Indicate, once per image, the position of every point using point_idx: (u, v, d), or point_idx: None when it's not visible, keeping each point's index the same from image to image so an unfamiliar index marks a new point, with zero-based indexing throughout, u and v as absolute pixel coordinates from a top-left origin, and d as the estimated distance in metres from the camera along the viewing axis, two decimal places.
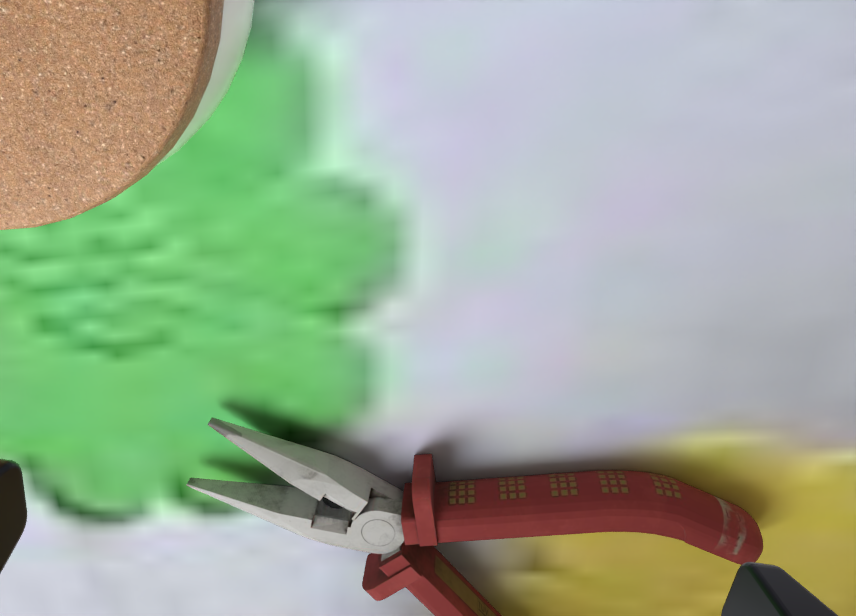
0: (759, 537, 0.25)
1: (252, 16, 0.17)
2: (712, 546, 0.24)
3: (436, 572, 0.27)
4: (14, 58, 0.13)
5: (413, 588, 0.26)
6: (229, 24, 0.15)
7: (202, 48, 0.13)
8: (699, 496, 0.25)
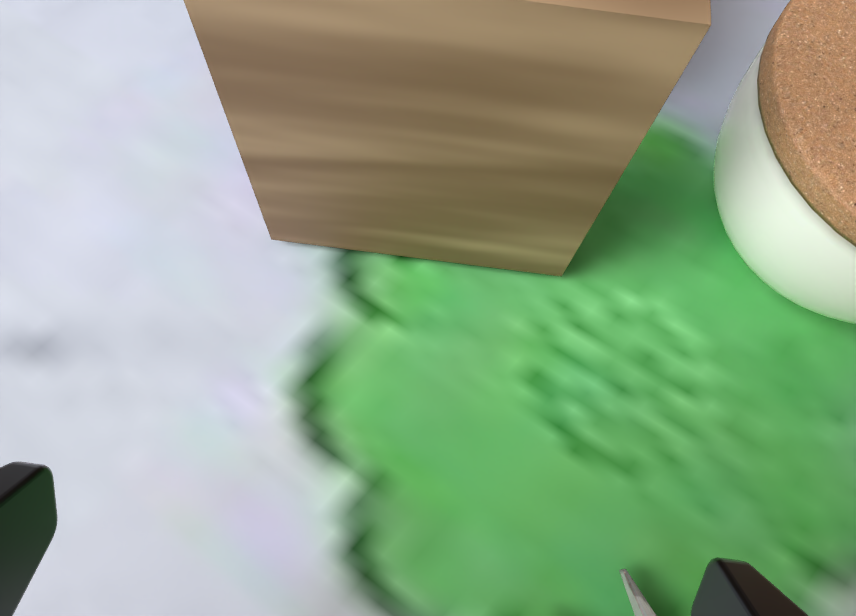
0: None
1: None
2: None
3: None
4: None
5: None
6: None
7: None
8: None
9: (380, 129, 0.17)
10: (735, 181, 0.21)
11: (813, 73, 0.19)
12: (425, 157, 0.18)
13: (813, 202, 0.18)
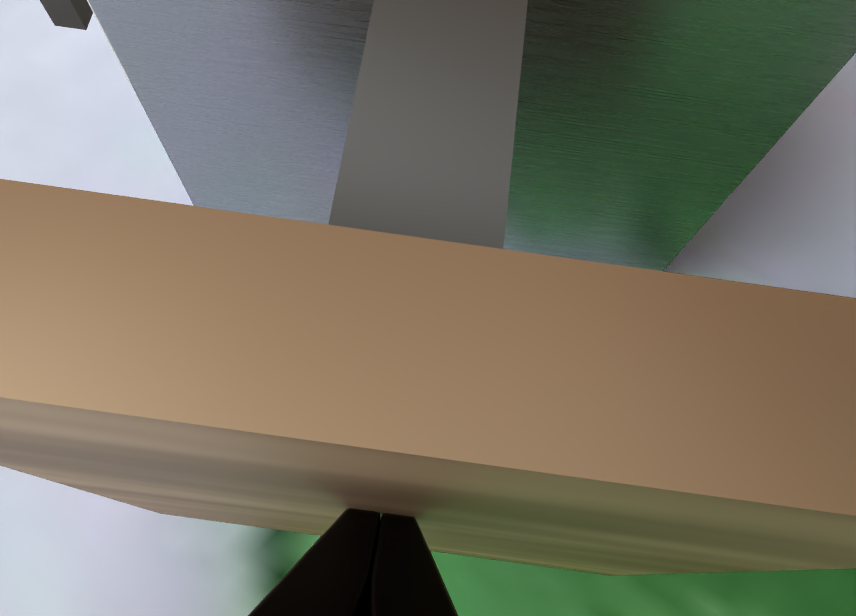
0: None
1: None
2: None
3: None
4: None
5: None
6: None
7: None
8: None
9: (290, 502, 0.09)
10: None
11: None
12: None
13: None
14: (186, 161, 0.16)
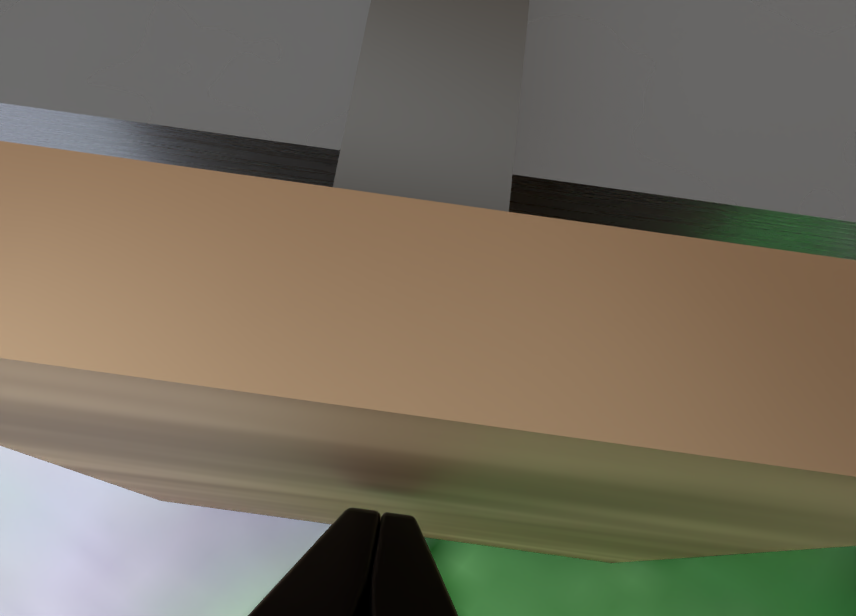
0: None
1: None
2: None
3: None
4: None
5: None
6: None
7: None
8: None
9: (291, 481, 0.09)
10: None
11: None
12: (384, 502, 0.10)
13: None
14: None
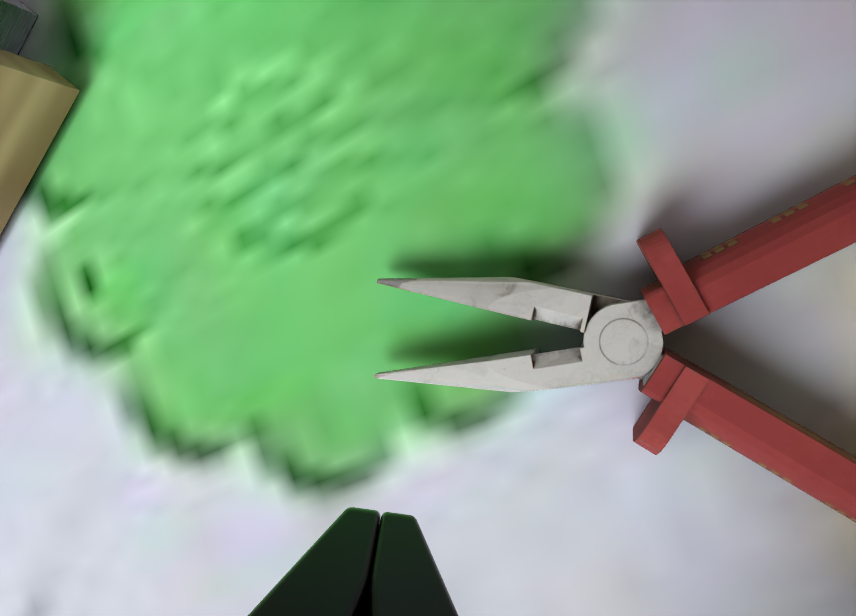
0: None
1: None
2: None
3: (734, 391, 0.18)
4: None
5: (706, 409, 0.17)
6: None
7: None
8: None
9: None
10: None
11: None
12: None
13: None
14: None
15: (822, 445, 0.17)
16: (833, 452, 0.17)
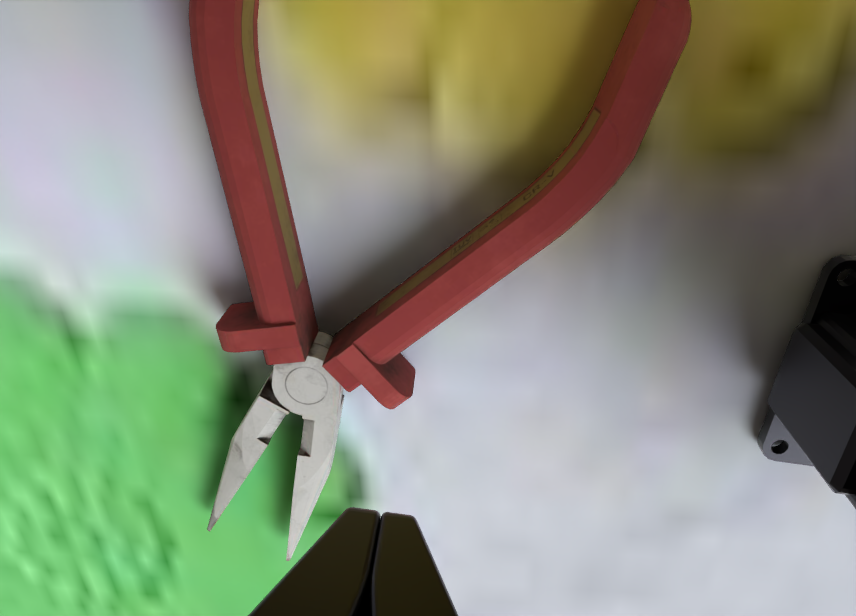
0: None
1: None
2: None
3: (379, 313, 0.20)
4: None
5: (379, 352, 0.19)
6: None
7: None
8: None
9: None
10: None
11: None
12: None
13: None
14: None
15: (439, 277, 0.18)
16: (446, 272, 0.18)
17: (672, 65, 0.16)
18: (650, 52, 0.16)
